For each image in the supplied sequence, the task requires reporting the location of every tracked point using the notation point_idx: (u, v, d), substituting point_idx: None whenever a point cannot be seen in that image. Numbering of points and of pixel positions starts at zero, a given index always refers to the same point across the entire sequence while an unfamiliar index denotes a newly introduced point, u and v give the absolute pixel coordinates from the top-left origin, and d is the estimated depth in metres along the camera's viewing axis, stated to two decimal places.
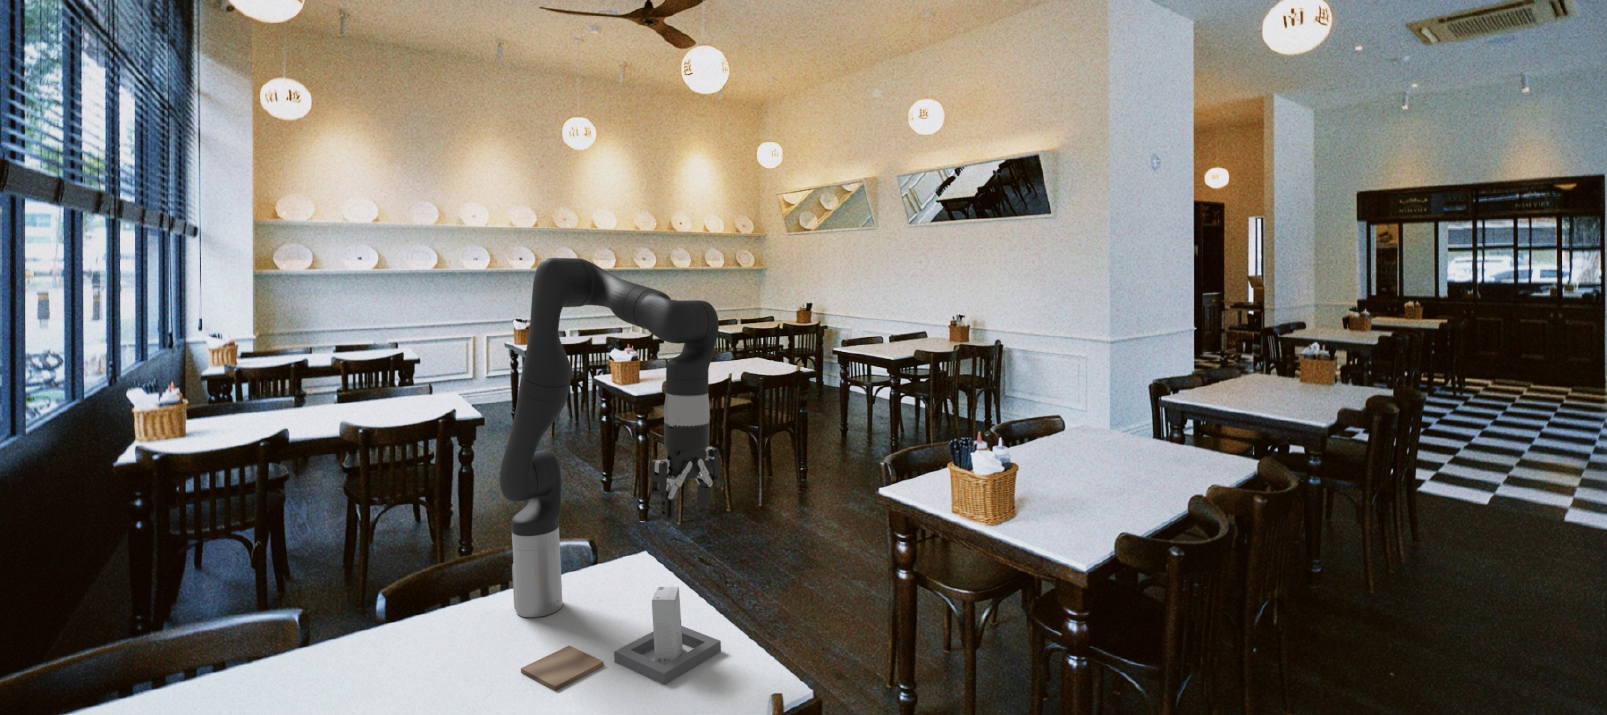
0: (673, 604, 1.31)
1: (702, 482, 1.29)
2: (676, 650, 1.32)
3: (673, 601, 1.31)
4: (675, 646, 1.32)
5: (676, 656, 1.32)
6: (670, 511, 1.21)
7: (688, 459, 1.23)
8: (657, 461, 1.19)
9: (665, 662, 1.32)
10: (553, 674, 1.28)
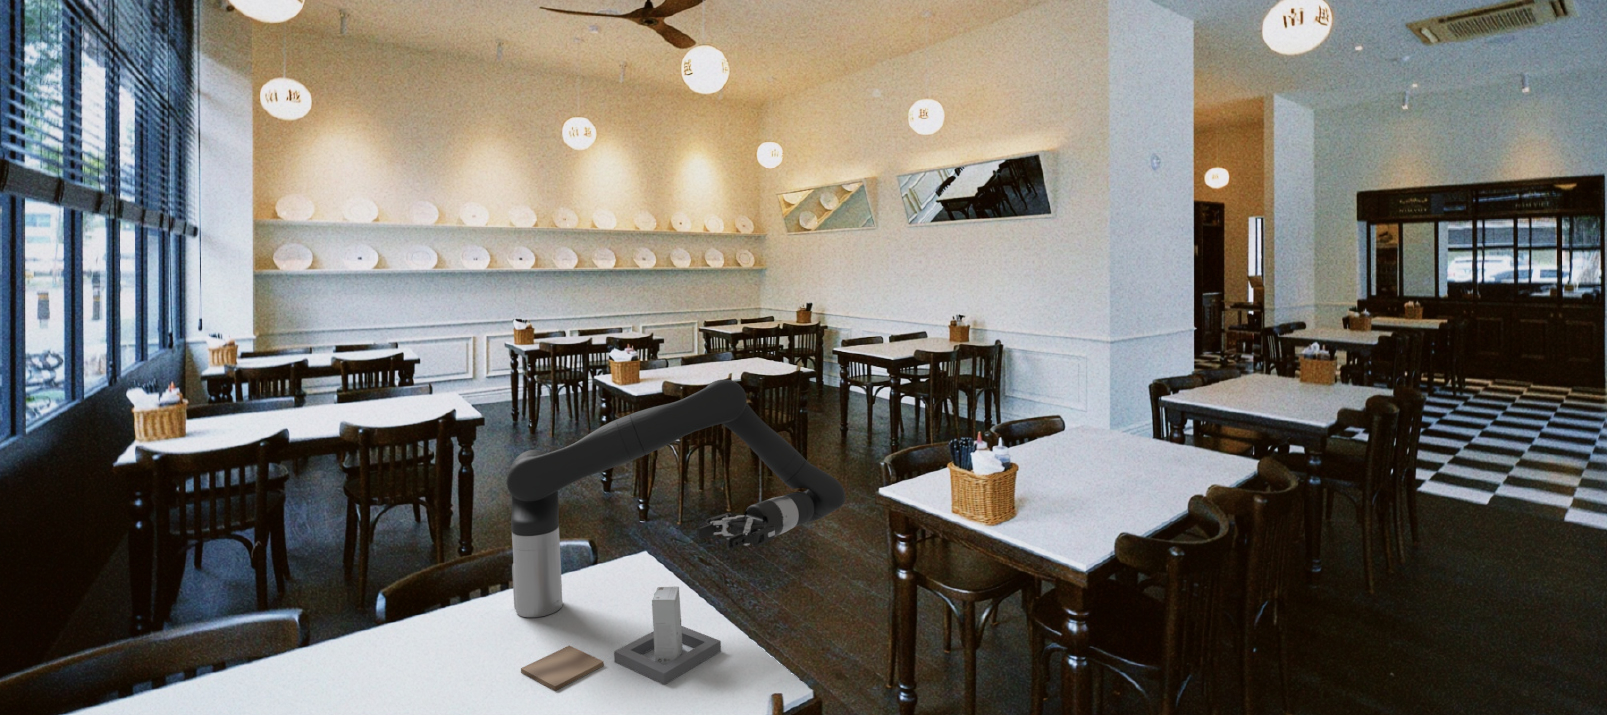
0: (673, 604, 1.31)
1: (715, 527, 1.47)
2: (676, 650, 1.32)
3: (673, 601, 1.31)
4: (675, 646, 1.32)
5: (676, 656, 1.32)
6: (735, 546, 1.39)
7: None
8: (774, 531, 1.44)
9: (665, 662, 1.32)
10: (553, 674, 1.28)
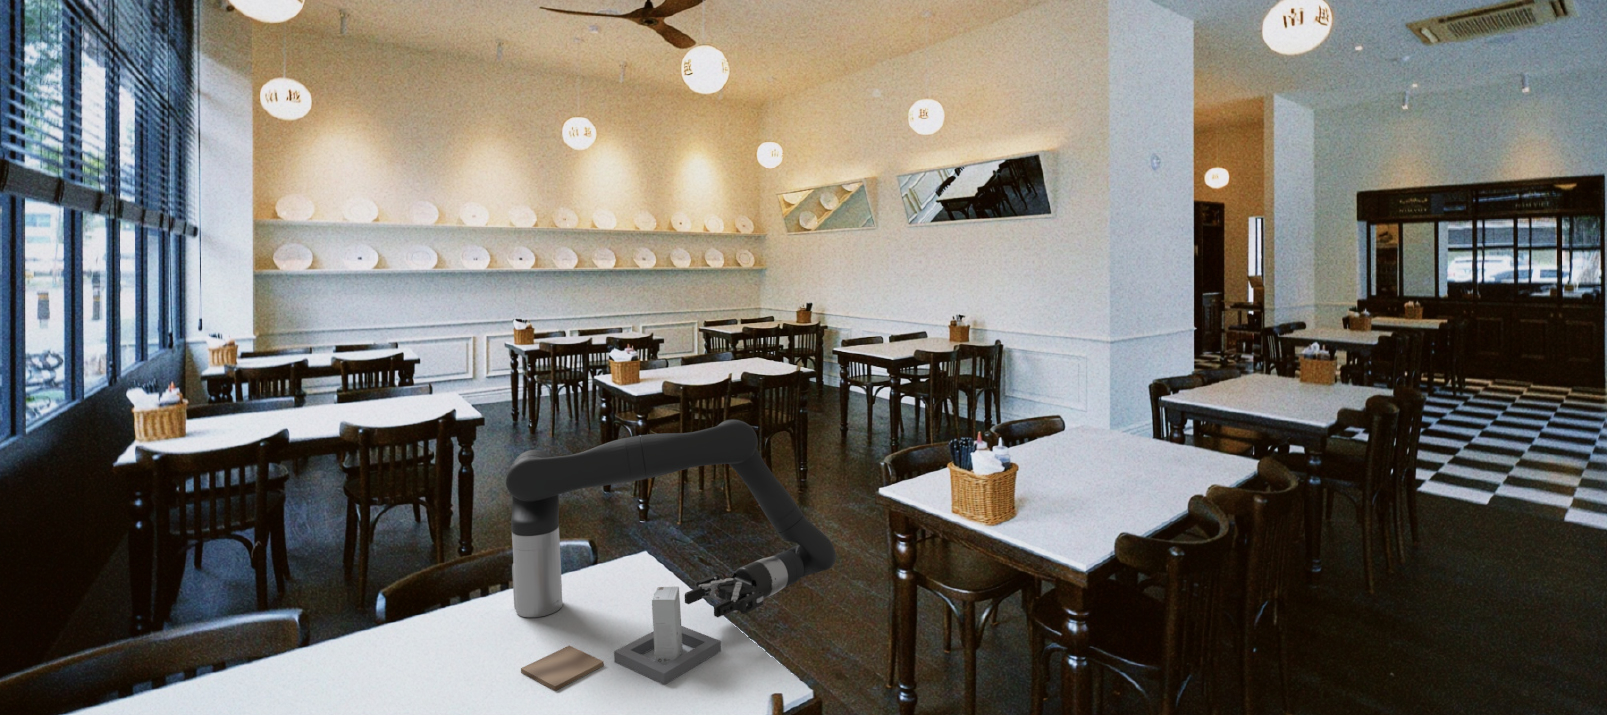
0: (673, 604, 1.31)
1: (703, 591, 1.46)
2: (676, 650, 1.32)
3: (673, 601, 1.31)
4: (675, 646, 1.32)
5: (676, 656, 1.32)
6: None
7: None
8: (763, 597, 1.43)
9: (665, 662, 1.32)
10: (553, 674, 1.28)
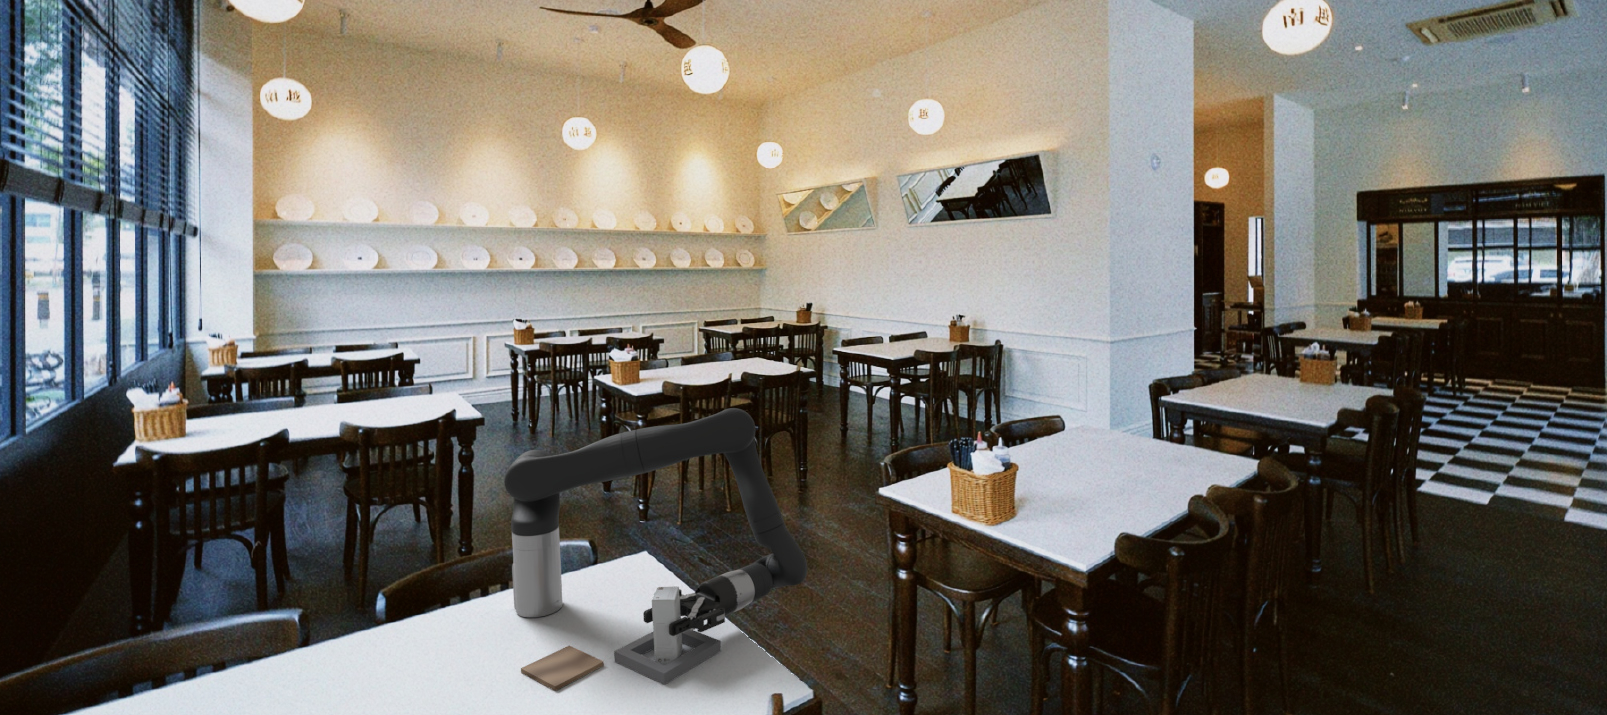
0: (673, 604, 1.31)
1: None
2: (676, 650, 1.32)
3: (673, 601, 1.31)
4: (675, 646, 1.31)
5: (676, 656, 1.32)
6: None
7: None
8: (724, 614, 1.36)
9: (665, 662, 1.32)
10: (553, 674, 1.28)
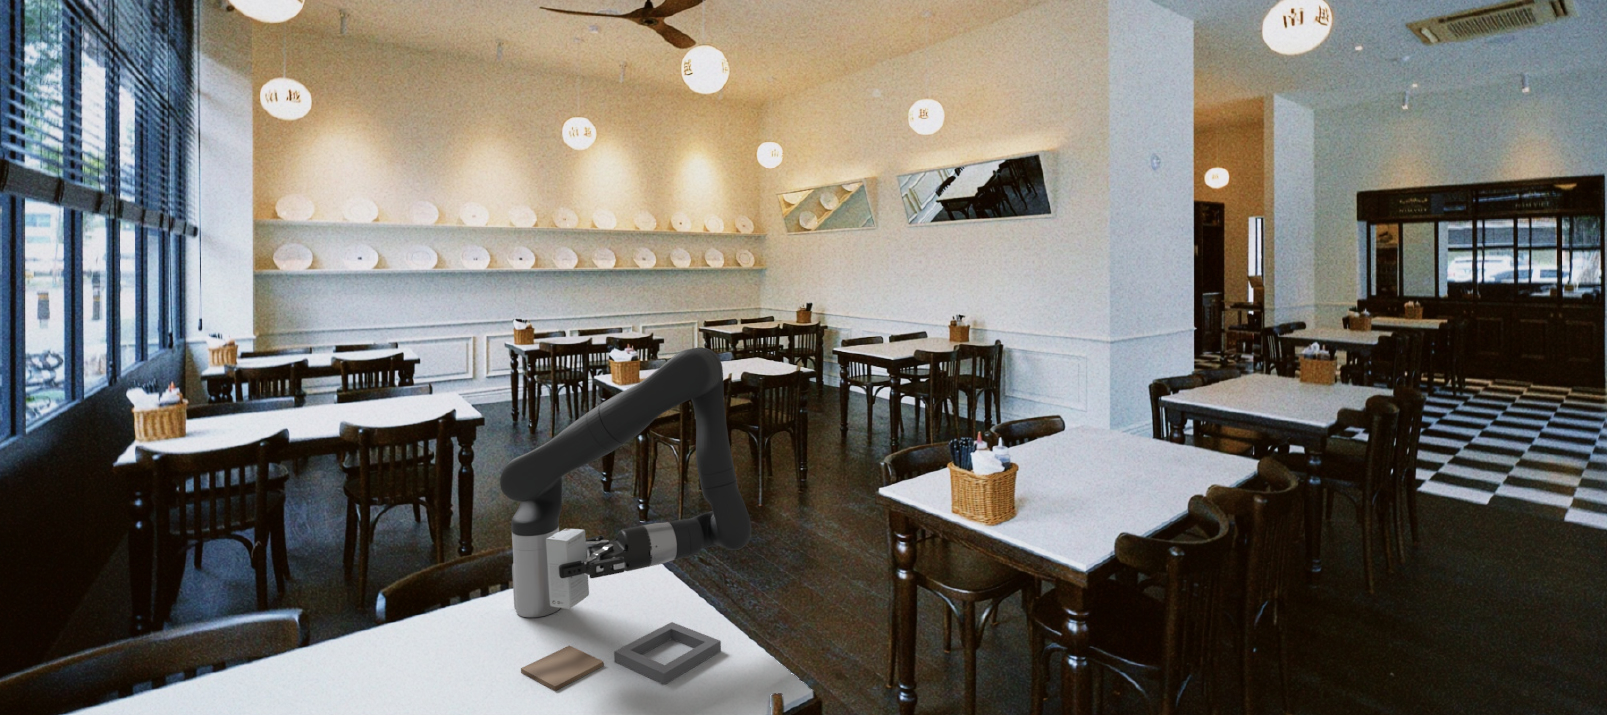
0: (565, 545, 1.25)
1: None
2: (569, 594, 1.26)
3: (565, 542, 1.25)
4: (567, 589, 1.26)
5: (569, 600, 1.26)
6: None
7: None
8: (624, 564, 1.27)
9: (559, 605, 1.27)
10: (553, 674, 1.28)
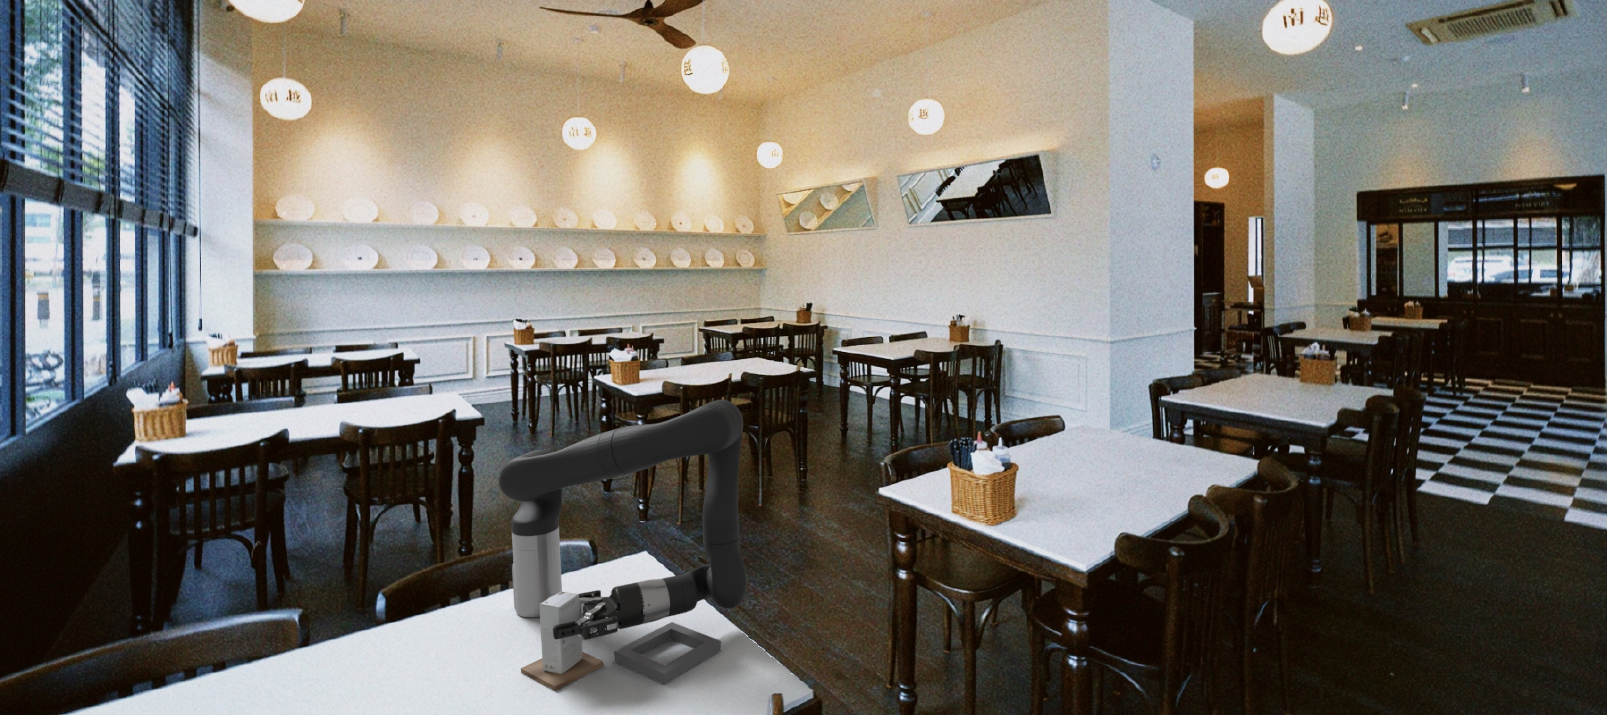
0: (557, 611, 1.27)
1: None
2: (561, 659, 1.27)
3: (557, 608, 1.27)
4: (559, 655, 1.27)
5: (561, 665, 1.27)
6: None
7: None
8: (617, 624, 1.28)
9: (551, 669, 1.28)
10: (553, 674, 1.28)
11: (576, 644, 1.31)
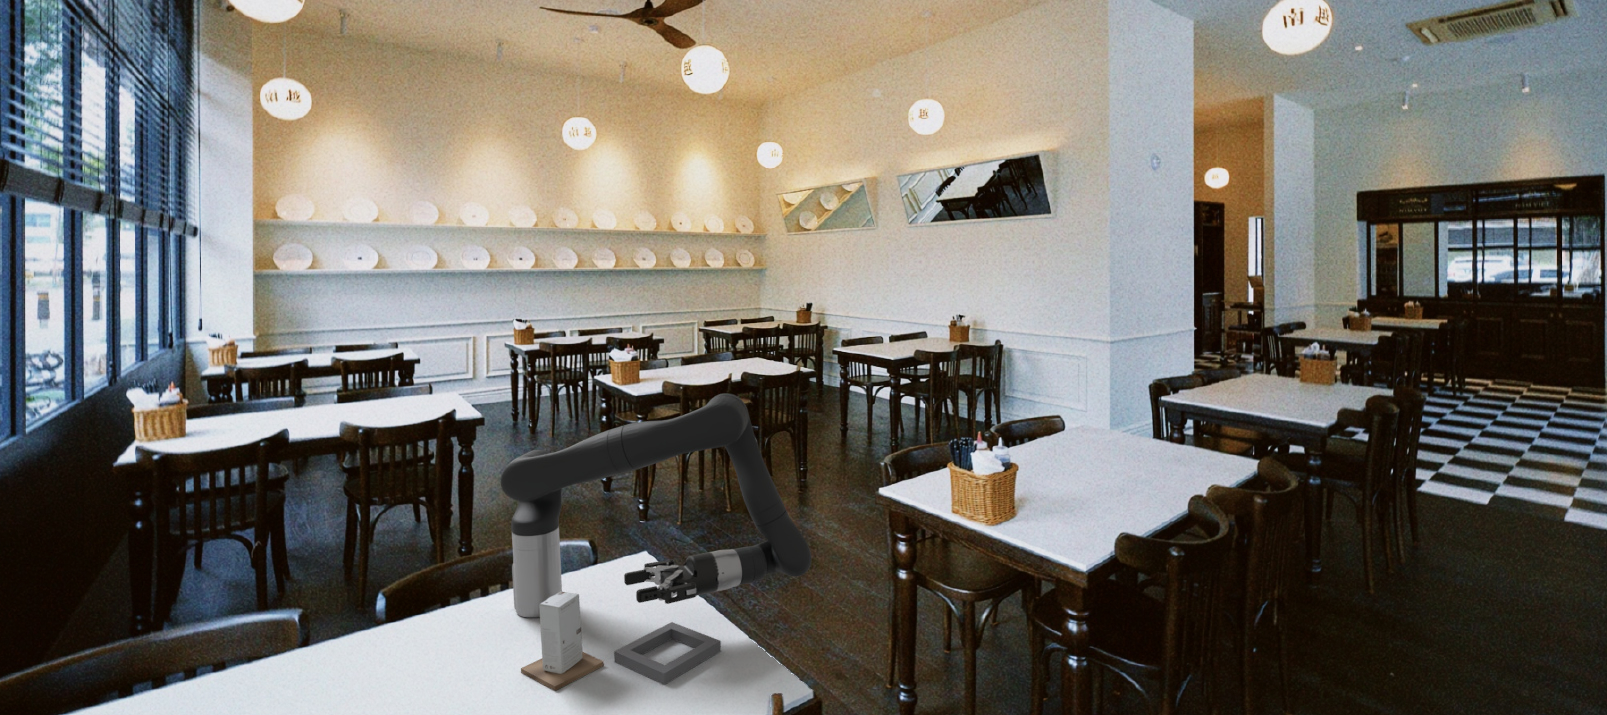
0: (557, 611, 1.27)
1: (648, 574, 1.42)
2: (561, 659, 1.27)
3: (557, 608, 1.27)
4: (559, 655, 1.27)
5: (561, 665, 1.27)
6: None
7: None
8: (695, 589, 1.35)
9: (551, 669, 1.28)
10: (553, 674, 1.28)
11: (576, 644, 1.31)
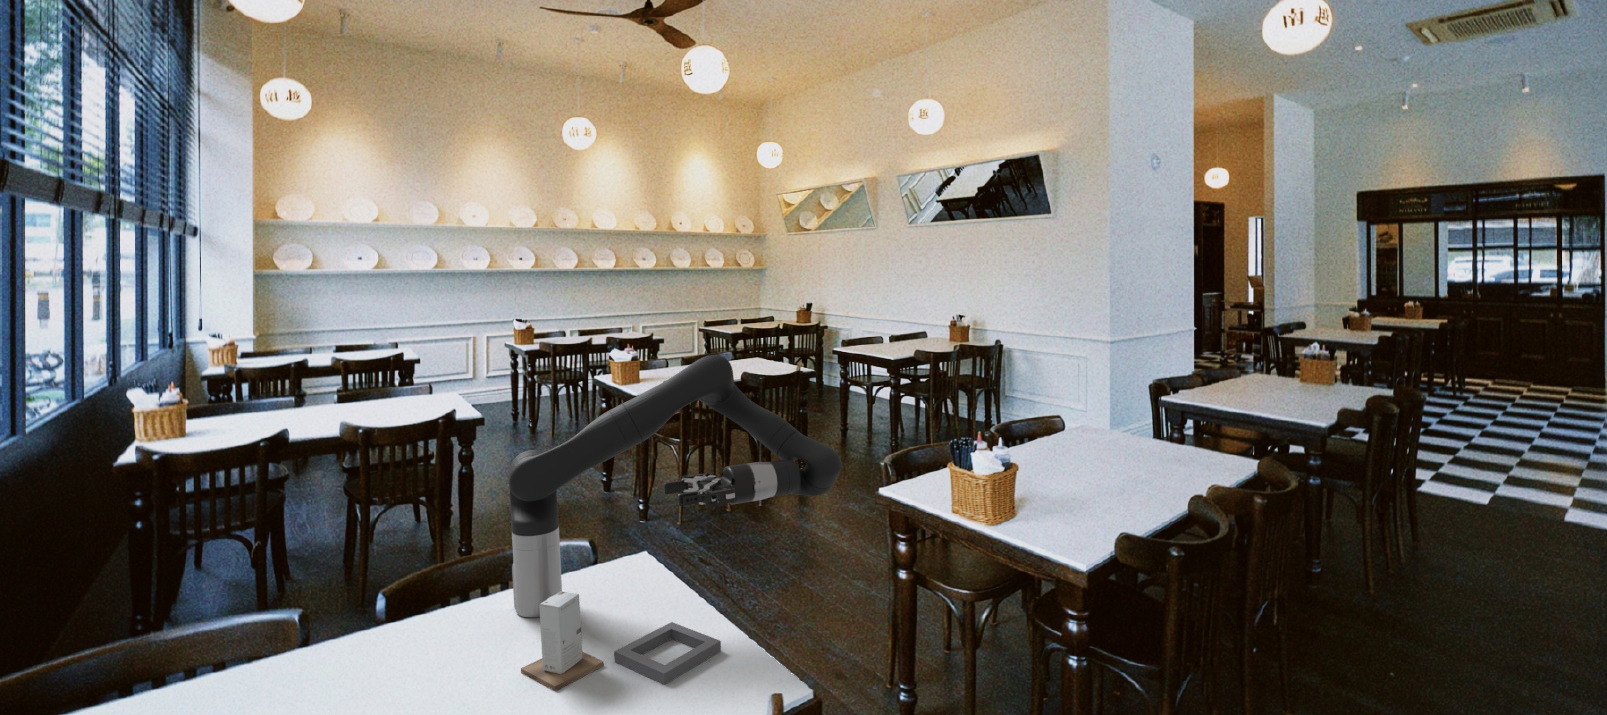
0: (557, 611, 1.27)
1: (686, 485, 1.45)
2: (561, 659, 1.27)
3: (557, 608, 1.27)
4: (559, 655, 1.27)
5: (561, 665, 1.27)
6: (687, 503, 1.37)
7: None
8: (734, 494, 1.39)
9: (551, 669, 1.28)
10: (553, 674, 1.28)
11: (576, 644, 1.31)
